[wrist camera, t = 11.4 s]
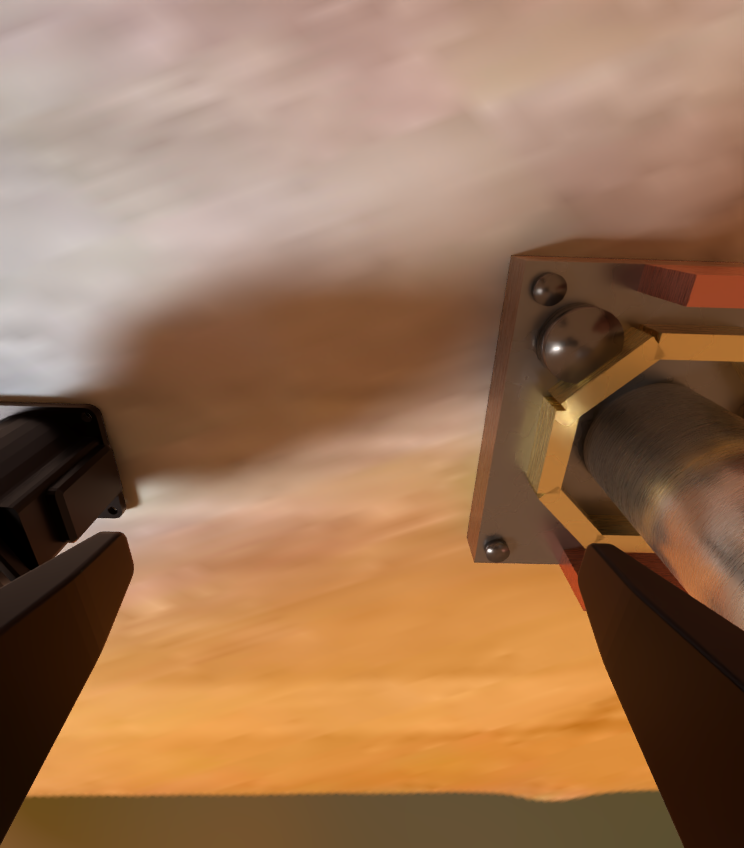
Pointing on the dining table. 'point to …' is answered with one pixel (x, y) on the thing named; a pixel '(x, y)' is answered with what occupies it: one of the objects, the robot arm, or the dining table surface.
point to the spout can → (678, 485)
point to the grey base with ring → (591, 393)
